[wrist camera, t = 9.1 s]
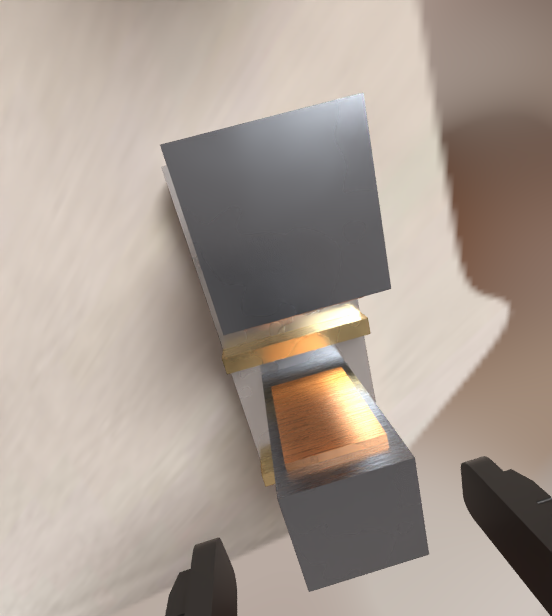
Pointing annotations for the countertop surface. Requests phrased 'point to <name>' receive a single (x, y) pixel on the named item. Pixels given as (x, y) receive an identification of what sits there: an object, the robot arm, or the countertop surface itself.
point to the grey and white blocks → (283, 242)
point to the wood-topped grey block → (340, 474)
